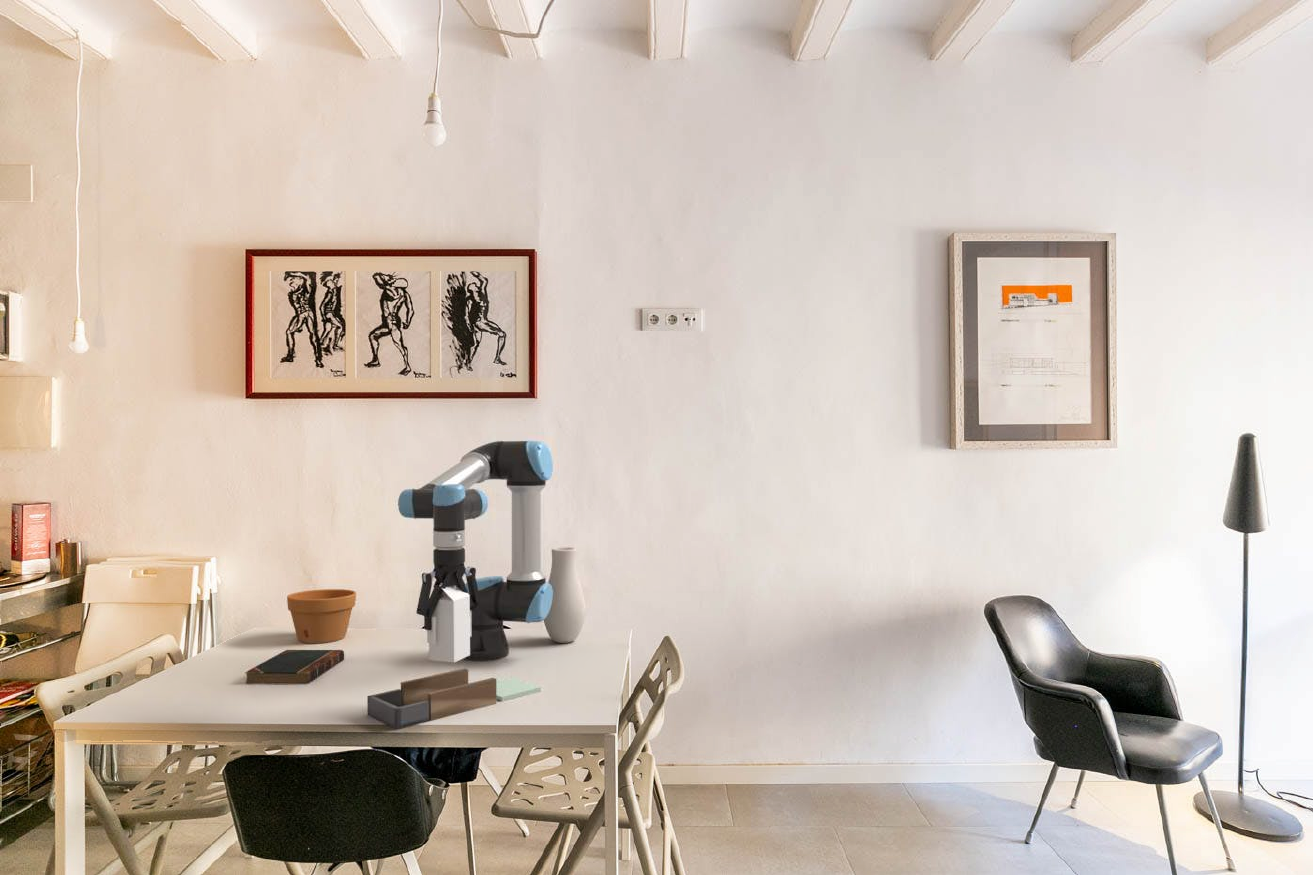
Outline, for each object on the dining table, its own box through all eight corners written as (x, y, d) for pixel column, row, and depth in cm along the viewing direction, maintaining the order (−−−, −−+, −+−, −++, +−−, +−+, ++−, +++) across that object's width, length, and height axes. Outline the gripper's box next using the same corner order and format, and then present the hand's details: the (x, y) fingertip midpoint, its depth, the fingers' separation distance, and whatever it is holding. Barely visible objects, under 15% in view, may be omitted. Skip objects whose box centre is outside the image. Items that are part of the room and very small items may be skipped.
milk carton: (470, 655, 206) (469, 579, 206) (454, 663, 199) (453, 584, 199) (445, 653, 208) (445, 577, 208) (428, 660, 202) (428, 582, 202)
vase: (551, 648, 261) (551, 552, 261) (536, 639, 273) (536, 547, 273) (591, 643, 267) (591, 549, 267) (575, 634, 279) (575, 545, 279)
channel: (400, 707, 202) (400, 682, 202) (465, 691, 215) (465, 668, 215) (430, 720, 192) (430, 694, 192) (496, 703, 205) (496, 678, 205)
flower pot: (309, 630, 286) (310, 587, 286) (367, 632, 283) (367, 588, 283) (273, 645, 265) (273, 598, 265) (335, 647, 262) (335, 600, 262)
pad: (472, 690, 216) (472, 686, 216) (511, 681, 224) (511, 677, 224) (501, 701, 207) (501, 697, 207) (540, 691, 215) (540, 687, 215)
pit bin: (367, 715, 196) (367, 696, 196) (398, 707, 201) (398, 689, 201) (396, 729, 186) (396, 709, 186) (428, 721, 192) (429, 701, 192)
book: (286, 661, 247) (243, 685, 222) (286, 649, 247) (244, 672, 222) (344, 661, 247) (309, 685, 222) (344, 649, 247) (309, 672, 222)
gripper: (416, 553, 193) (416, 650, 193) (495, 544, 209) (496, 634, 209) (400, 550, 198) (400, 645, 199) (478, 542, 214) (479, 629, 214)
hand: (449, 639), depth 204 cm, fingers closed on milk carton, 9 cm apart
